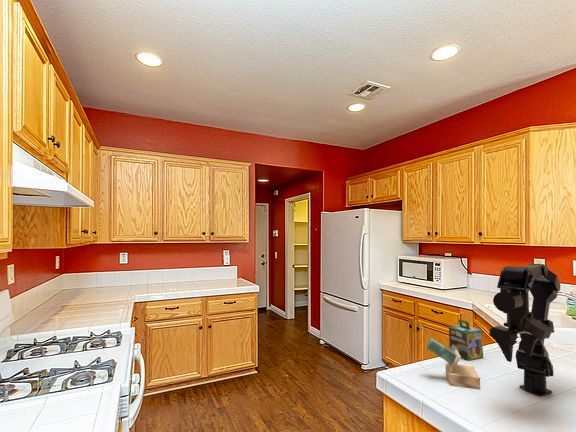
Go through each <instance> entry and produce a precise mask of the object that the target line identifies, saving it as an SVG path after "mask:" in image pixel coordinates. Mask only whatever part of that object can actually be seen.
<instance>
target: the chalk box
mask: <svg viewBox="0 0 576 432" xmlns="http://www.w3.org/2000/svg"><path fill="white" fill-rule="evenodd" d="M463 323H464V324H463ZM448 339H449V349H450V350H452V351H453V352H454V350H455V349H456V350H457V351H458V353H459V355H460V356H461V359H462V360H465V361H472V360H476V359H481V358H484V346H483V330H482V329H480V328H478V327H475V326H470V324H469V321H467V320H464V319H460V318H459V319H458V324H456V325H451V326H448Z"/></svg>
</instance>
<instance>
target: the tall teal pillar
mask: <svg viewBox="0 0 576 432" xmlns="http://www.w3.org/2000/svg"><path fill="white" fill-rule="evenodd" d="M426 350H428V351H429V352H430V353H433V354H434V355H436V356H438V357H439V358H440V359H442V360H444V361H445V362H446V363H447V365H448V367H449V370H450V371H451V372H452V371H453V370H454V368H455V367H456V365H458V363H459V362H460V361H461V359H462V358H461V356H460V355H459V353H458V351H457V350H456V349H455V350H454V352H453V351H452V350H450V347H447V346H445V345H444V344H442V343H440V342H438V341H437V340H435V339H434V338H433V337H430V338H429V341H428V342H427V344H426Z"/></svg>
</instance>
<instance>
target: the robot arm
mask: <svg viewBox="0 0 576 432" xmlns="http://www.w3.org/2000/svg"><path fill="white" fill-rule="evenodd" d="M496 288H497V289H499V291H500V292H497V293H496V294H495V295H493V300H492V302H493V305H494V307H495V309H497V310H498V311H500V312H503V314H506V322H503V326H501V325H496V326H492V327H491V328H489V329H488V330H489V337H491V338H492V339H493V340H495V342H496V344H497V345H498V347H499V348H500V350H501V352H502V354H503V356H504V357H505V359H506V361H507V362H509V363H511V362H513V352H514V351H513V350H514V345H515V344H518V348H517V350H516V351H515V360H516V367H517V369H519V370H523V384H521V385H519V388H520V389H522V390H523V391H527V392H530V393H532V394H534V395H537V396H538V397H542V396H546V395H549V394H552V392H553V391H552V389H548V388H547V378H549V377H554V376H555V375H554V365H553V364H552V361H551V359H550V357H549V356H550V355H549V352H548V350H547V349H546V345H545V344H544V343H545V340H546V339H550V337H551V335H552V333H555V327H554V322H553V321H552V320H550V319H548V318H549V311H550V305H551V303H552V302H553V301H554V300H556V299H557V298H558V293H559V292H560V291H561V282H560V280H559V277H558V275H557V274H556V273H555V272H553V271H551V270H550V269H549V267H548V265H547V264H544V263H534V262H533V263H528V264H527V265H523V266H509V265H505V266H504V267H503V268H502V269H501V271H500V276H499V278H498V282H497V286H496ZM529 292H530V294H531V296H532V297H533V298H532V305H531V310H530V299H529V297H530V295H529ZM518 335H519V337H520V340H519V343H518V340H517V339H518Z"/></svg>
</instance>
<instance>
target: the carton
mask: <svg viewBox="0 0 576 432" xmlns="http://www.w3.org/2000/svg"><path fill="white" fill-rule="evenodd" d="M445 375H446V378H447V380H448V383H449V385H450V386H455V387H461V388H462V387H463V388H470V389H477V390H480V389H481V377H480V376H479V374H478V372H477V371H476V369H475V367H474V366H473V365H465V364H457V365H456V367H455V368H454V370H453V371H452V372H451V371H450V370H449V367H448V365H447V362H445Z"/></svg>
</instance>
